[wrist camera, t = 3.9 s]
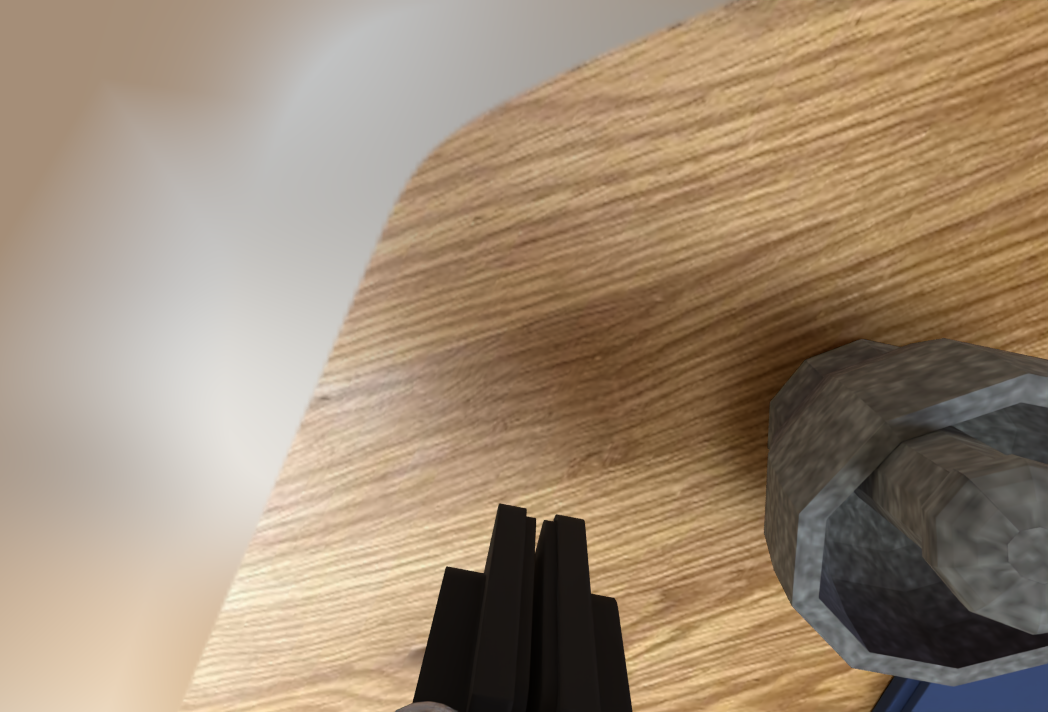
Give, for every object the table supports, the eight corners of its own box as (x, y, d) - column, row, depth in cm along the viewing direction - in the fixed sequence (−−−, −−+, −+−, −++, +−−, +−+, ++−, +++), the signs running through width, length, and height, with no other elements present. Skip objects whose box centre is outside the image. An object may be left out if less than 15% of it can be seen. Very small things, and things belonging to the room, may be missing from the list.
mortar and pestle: (1040, 433, 21) (1608, 794, 10) (813, 564, 23) (1051, 965, 12) (880, 197, 18) (1427, 324, 7) (642, 378, 20) (751, 681, 9)
